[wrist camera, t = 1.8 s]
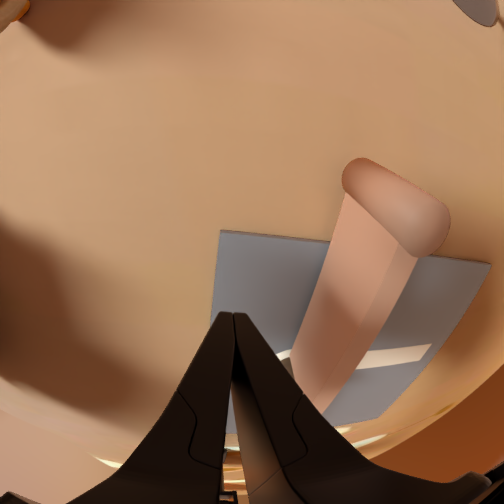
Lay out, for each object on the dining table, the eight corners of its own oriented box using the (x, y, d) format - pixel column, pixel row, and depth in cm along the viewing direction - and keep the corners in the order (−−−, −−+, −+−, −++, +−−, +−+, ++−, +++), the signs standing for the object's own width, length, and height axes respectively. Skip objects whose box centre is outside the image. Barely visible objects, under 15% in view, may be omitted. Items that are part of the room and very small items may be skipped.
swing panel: (311, 354, 18) (329, 420, 14) (283, 355, 18) (297, 423, 13) (383, 163, 12) (458, 207, 7) (347, 153, 11) (417, 194, 7)
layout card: (376, 416, 29) (377, 418, 28) (203, 430, 25) (203, 432, 25) (489, 263, 17) (492, 265, 17) (220, 229, 13) (220, 233, 13)
